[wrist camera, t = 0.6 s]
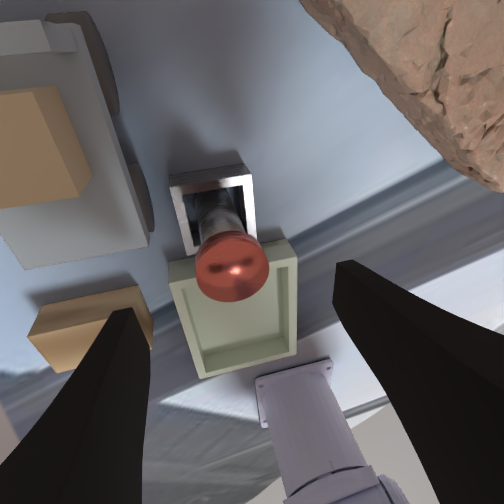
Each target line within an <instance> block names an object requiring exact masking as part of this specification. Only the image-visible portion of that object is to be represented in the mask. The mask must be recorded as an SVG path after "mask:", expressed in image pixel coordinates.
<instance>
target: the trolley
mask: <svg viewBox="0 0 504 504" xmlns="http://www.w3.org/2000/svg"><path fill="white" fill-rule="evenodd" d="M119 111H120V106H119V98H118V92H117V87H116V83H115V79H114V75H113V72H112V68H111V65H110V62H109V59H108V56H107V53H106V50H105V47H104V44H103V42H102V39H101V37H100V34H99V32H98V30H97V28H96V25H95V23H94V22H93V20H92V18H91V16H90V15H89V14H88V13H87V12H86V11H82V12H69V13H56V14H48V15H47V16H46V19H45V21H44V20H40V19H36V20H24V21H11V22H0V235H1V236H2V238H3V239H4V241H5V242H6V244H7V245H8V247H9V248H10V250H11V251H12V253H13V254H14V256H15V257H16V259H17V260H18V262H19V263H20V265H21V266H22V267H23V269H24V270H28V269H33V268H39V267H44V266H49V265H55V264H60V263H65V262H71V261H76V260H81V259H86V258H92V257H97V256H102V255H108V254H113V253H118V252H124V251H129V250H134V249H140V248H145V247H149V240H150V234H149V232H153V231H154V214H153V208H152V203H151V198H150V194H149V190H148V187H147V184H146V181H145V178H144V175H143V173H142V171H141V169H140V167H139V165H138V164H129V165H126V162H125V159H124V156H123V153H122V150H121V147H120V144H119V141H118V138H117V135H116V132H115V129H114V126H113V123H112V120H111V117H110V116H111V115H118V114H119Z"/></svg>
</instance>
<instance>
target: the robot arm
mask: <svg viewBox="0 0 504 504" xmlns="http://www.w3.org/2000/svg"><path fill="white" fill-rule="evenodd" d="M332 304H333V306H334V308H335V310H336V313H337V315H338V317H339V319H340V321H341V323H342V325H343V327H344V329H345V330H346V332H347V333H348V335H349V336H350V338H351V339H352V341H353V343H354V344H355V346H356V347H357V349H358V350H359V352H360V353H361V355H362V356H363V358H364V359H365V361H366V362H367V364H368V365H369V367H370V369H371V370H372V372H373V373H374V375H375V376H376V378H377V379H378V381H379V382H380V384H381V386H382V387H383V389H384V391H385V392H386V394H387V396H388V398H389V400H390V402H391V404H392V406H393V407H394V409H395V411H396V413H397V415H398V417H399V419H400V420H401V423H402V425H403V427H404V429H405V431H406V433H407V434H408V437H409V439H410V440H411V442H412V445H413V447H414V449H415V451H416V453H417V455H418V457H419V459H420V461H421V463H422V466H423V468H424V470H425V472H426V474H427V476H428V478H429V481H430V482H431V485H432V487H433V489H434V491H435V494H436V496H437V498H438V500H439V503H440V504H504V335H502V334H499V333H497V332H494V331H492V330H489V329H487V328H484V327H482V326H479V325H477V324H475V323H472V322H470V321H468V320H465V319H463V318H461V317H458V316H456V315H454V314H452V313H450V312H447V311H445V310H443V309H441V308H439V307H437V306H435V305H433V304H431V303H429V302H427V301H425V300H423V299H421V298H419V297H418V296H416V295H414V294H412V293H410V292H408V291H406V290H405V289H403V288H401V287H399V286H398V285H396V284H394V283H392V282H391V281H389V280H387V279H385V278H384V277H382V276H380V275H379V274H377V273H375V272H373V271H372V270H370V269H368V268H367V267H365V266H363V265H361V264H360V263H358V262H356V261H354V260H348V261H343V262H338V263H336V273H335V282H334V291H333V301H332ZM332 370H333V362H332V360H331V359H327V360H323V361H319V362H315V363H312V364H308V365H304V366H300V367H296V368H293V369H289V370H285V371H281V372H277V373H274V374H270V375H266V376H262V377H259V378H257V379H256V380H255V387H256V394H257V401H258V409H259V416H260V424H261V427H262V428H266V427H269V431H270V435H271V439H272V443H273V447H274V450H275V454H276V458H277V462H278V466H279V469H280V473H281V477H282V481H283V484H284V488H285V492H286V496H287V499H285V500H284V501H283V503H284V504H410V503H409V502H408V500H407V498H406V497H405V495H404V493H403V492H402V490H401V489H400V487H399V486H398V484H397V483H396V482H395V481H393V480H392V479H390V478H388V477H387V476H386V475H384V474H381V475H380V476H378V477H377V476H376V474H375V472H374V470H373V468H372V466H371V465H369V466H368V465H367V463H366V461H365V459H364V457H363V454H362V453H361V450H360V448H359V446H358V444H357V442H356V440H355V438H354V436H353V434H352V432H351V429H350V427H349V425H348V423H347V421H346V419H345V417H344V415H343V413H342V411H341V409H340V406H339V404H338V402H337V400H336V398H335V396H334V394H333V392H332V390H331V388H330V386H331V378H332ZM149 385H150V346H149V343H148V341H147V339H146V337H145V334H144V332H143V330H142V328H141V326H140V323H139V321H138V319H137V317H136V314H135V312H134V310H133V308H132V307H129V308H124V309H120V310H115V311H113V312H112V313H111V314H110V316H109V317H108V319H107V321H106V322H105V324H104V325H103V327H102V329H101V330H100V332H99V334H98V335H97V337H96V338H95V340H94V342H93V343H92V345H91V346H90V348H89V349H88V351H87V352H86V354H85V356H84V357H83V359H82V360H81V362H80V363H79V365H78V366H77V368H76V369H75V371H74V372H73V374H72V375H71V377H70V378H69V379H68V381H67V382H66V384H65V385H64V386H63V388H62V389H61V390H60V392H59V393H58V395H57V396H56V397H55V399H54V400H53V402H52V403H51V404H50V406H49V407H48V408H47V410H46V411H45V412H44V413H43V415H42V416H41V417H40V419H39V420H38V421H37V422H36V424H35V425H34V426H33V427H32V429H31V430H30V431H29V432H28V434H27V435H26V436H25V437H24V438H23V440H22V441H21V442H20V443H19V444H18V446H17V447H16V448H15V449H14V450H13V451H12V453H11V454H10V455H9V456H8V457H7V458H6V459H5V460H4V462H3V463H2V464H1V465H0V504H142V458H143V444H144V434H145V425H146V415H147V405H148V396H149Z"/></svg>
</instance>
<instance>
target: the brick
mask: <svg viewBox="0 0 504 504" xmlns="http://www.w3.org/2000/svg"><path fill="white" fill-rule="evenodd" d="M299 1H300V2H301V3H302V4H303V6H304V8H305V10H306V12H307V13H308V14H309V15H310V16H311V17H312V18H313V19H314V20H316V21H317V22H318V23H319V24H320V25H321V26H322V27H323V28H324V29H325V30H326V31H327V32H328V33H329V34H330V35H331V36H333V37H334V38H335V39H337V40H339V41H341V42H342V43H343V44H344V45H345V47H346V48H347V50H348V51H349V52H350V54H351V56H352V57H353V59H354V60H355V62H356V64H357V65H358V66H359V68H360V69H361V71H362V72H363V73H365V74H366V75H368V76H369V77H371V78H372V79H373V80H375V81H376V82H377V84H378V85H379V87H380V89H381V91H382V93H383V94H384V95H385V96H386V97H387V98H388V99H389V100H390V101H391V102H392V103H393V104H394V105H395V107H396V108H397V109H398V110H399V111H400V112H401V113H403V114H404V115H405V118H406V119H407V120H408V121H409V122H410V123H411V124H412V125H413V127H414V128H415V129H416V130H418V131H419V133H420V134H421V135H422V136H423V137H424V138H425V139H426V140H427V141H428V142H429V144H430V145H431V146H432V147H434V148H435V149H436V150H437V151H438V152H439V153H440V154H441V155H442V156H443V157H444V159H445V161H446V162H447V163H448V164H450V166H451V167H452V168H453V169H455V170H456V171H458V172H459V173H461V174H462V175H464V176H466V177H468V178H470V179H473V180H475V181H476V182H478V183H480V184H482V185H485V186H486V187H487V188H489V189H490V190H493V191H497V192H501V193H503V192H504V0H299Z"/></svg>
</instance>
